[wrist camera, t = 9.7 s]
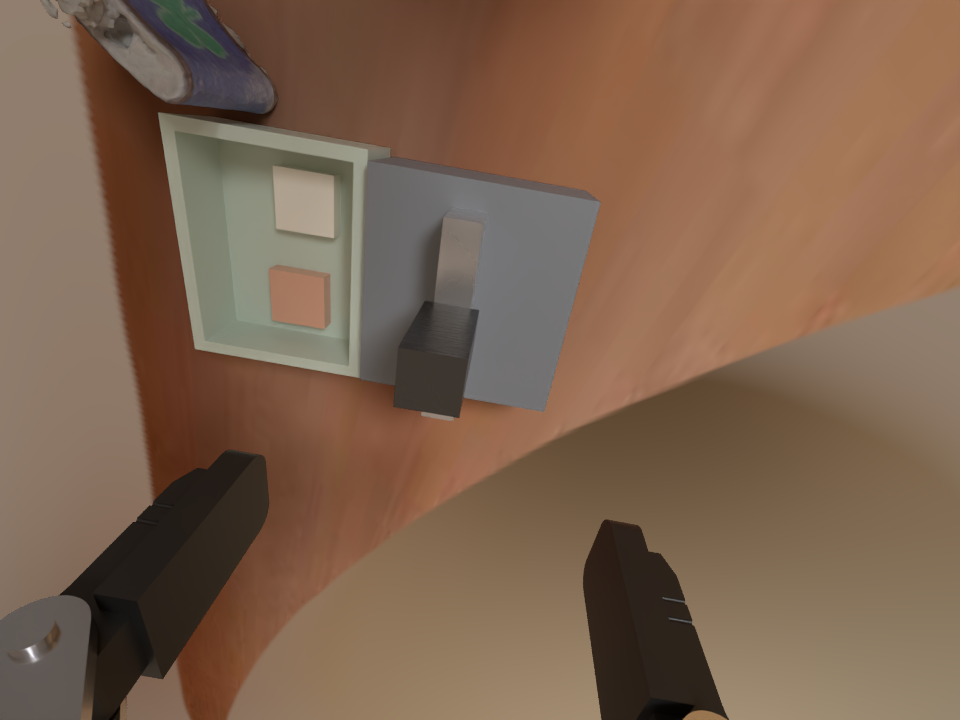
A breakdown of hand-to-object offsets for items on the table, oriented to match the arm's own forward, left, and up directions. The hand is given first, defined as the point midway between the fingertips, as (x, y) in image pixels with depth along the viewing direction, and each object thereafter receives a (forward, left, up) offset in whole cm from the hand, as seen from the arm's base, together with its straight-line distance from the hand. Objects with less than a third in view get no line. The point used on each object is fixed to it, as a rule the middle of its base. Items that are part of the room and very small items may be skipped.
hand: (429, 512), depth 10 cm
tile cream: (-2, -13, -22) cm, 26 cm away
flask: (-10, -19, -25) cm, 33 cm away
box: (+1, -14, -24) cm, 28 cm away
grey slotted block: (+1, -1, -24) cm, 24 cm away
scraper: (+2, -1, -18) cm, 18 cm away
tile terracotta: (+5, -13, -22) cm, 26 cm away
